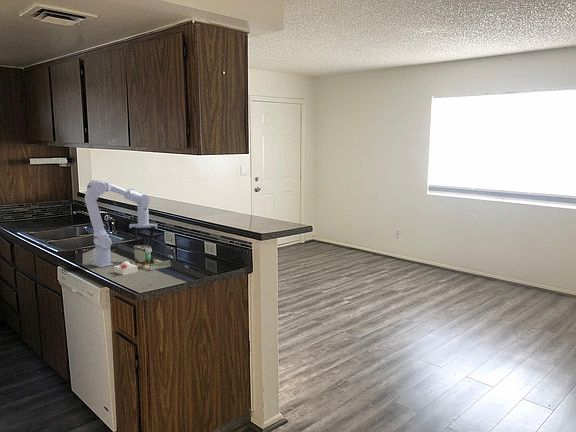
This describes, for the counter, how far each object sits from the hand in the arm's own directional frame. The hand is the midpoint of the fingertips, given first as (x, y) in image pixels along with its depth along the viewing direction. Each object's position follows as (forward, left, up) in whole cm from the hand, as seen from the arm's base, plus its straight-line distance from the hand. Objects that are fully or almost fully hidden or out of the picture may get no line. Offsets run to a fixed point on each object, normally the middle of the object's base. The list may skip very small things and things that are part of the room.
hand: (143, 240), depth 264 cm
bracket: (+16, -6, -10) cm, 20 cm away
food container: (+12, -8, -11) cm, 18 cm away
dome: (+17, -22, -10) cm, 29 cm away
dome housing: (+17, -22, -10) cm, 30 cm away
